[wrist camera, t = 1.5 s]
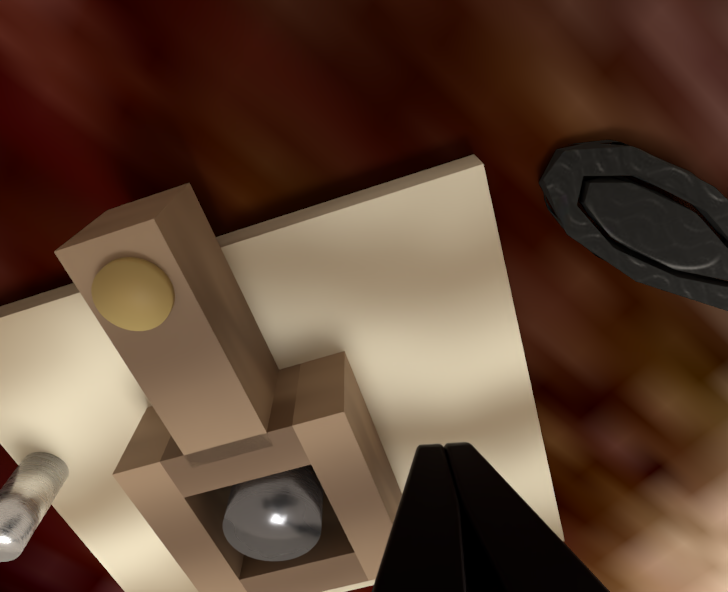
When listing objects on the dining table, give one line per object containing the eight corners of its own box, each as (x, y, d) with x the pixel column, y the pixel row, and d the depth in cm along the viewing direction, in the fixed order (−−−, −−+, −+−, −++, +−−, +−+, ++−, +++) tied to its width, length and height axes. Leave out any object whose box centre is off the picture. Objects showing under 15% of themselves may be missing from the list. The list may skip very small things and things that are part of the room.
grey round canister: (337, 451, 21) (334, 548, 17) (264, 470, 21) (246, 569, 17) (310, 391, 19) (300, 483, 15) (233, 413, 20) (205, 507, 16)
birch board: (554, 516, 23) (564, 540, 22) (168, 607, 25) (160, 633, 24) (474, 154, 16) (483, 164, 14) (-57, 325, 18) (-83, 344, 17)
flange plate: (403, 498, 20) (413, 579, 17) (233, 540, 21) (214, 625, 18) (266, 156, 14) (245, 191, 11) (35, 234, 15) (-41, 285, 12)
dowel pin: (77, 478, 19) (32, 555, 17) (38, 489, 19) (-13, 566, 17) (52, 447, 19) (1, 521, 16) (12, 458, 19) (-46, 533, 16)
